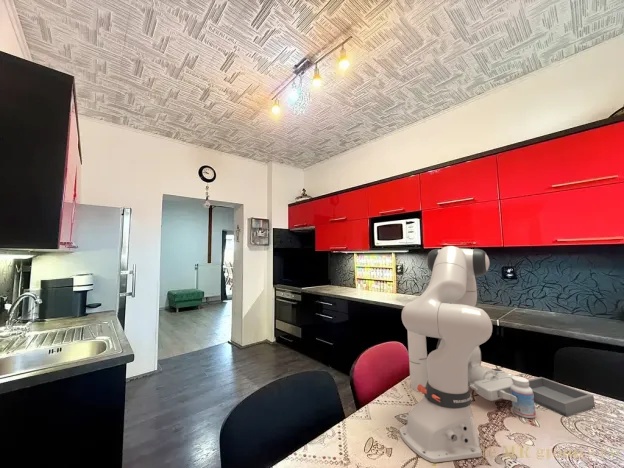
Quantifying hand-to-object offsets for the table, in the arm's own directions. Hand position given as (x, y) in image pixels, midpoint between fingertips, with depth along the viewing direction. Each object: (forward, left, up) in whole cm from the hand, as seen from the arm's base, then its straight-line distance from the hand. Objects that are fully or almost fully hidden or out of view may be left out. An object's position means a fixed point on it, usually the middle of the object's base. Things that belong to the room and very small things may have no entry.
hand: (525, 397), depth 87 cm
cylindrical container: (-20, +28, -6) cm, 35 cm away
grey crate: (+19, +3, -6) cm, 20 cm away
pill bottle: (0, +1, -6) cm, 6 cm away
